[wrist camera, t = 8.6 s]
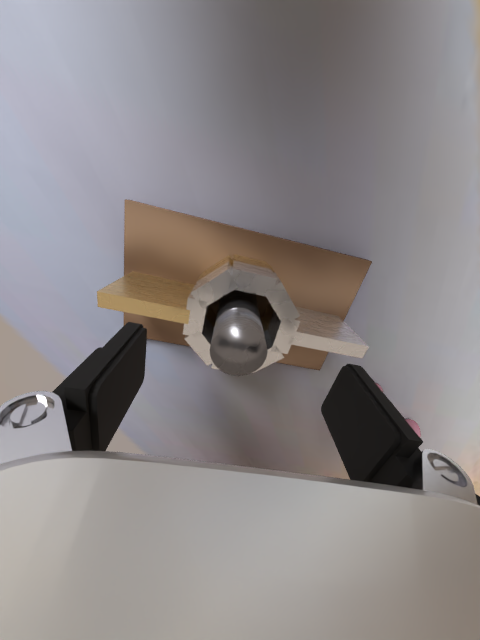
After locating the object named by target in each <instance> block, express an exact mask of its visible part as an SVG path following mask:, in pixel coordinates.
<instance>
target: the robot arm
mask: <svg viewBox="0 0 480 640" xmlns="http://www.w3.org/2000/svg"><path fill="white" fill-rule="evenodd" d="M146 340H147V329H146V328H143V325H142V324H138V323H133V322H128V323H126V324H125V325H124V326H123V327H122V328H121V329H120V330H119V332H118V333H117V334H116V335H115V336H114V337H113V338H112V339H111V340H110V341H109V342H108V343H107V344H106V345H105V346H104V347H103V348H97V349H96V350H95V351H94V352H93V353H92V354H91V355H90V356H89V357H88V358H87V359H86V360H85V361H84V362H83V363H82V364H81V365H79V366H78V367H77V368H76V369H75V370H74V371H73V372H72V373H71V374H70V375H69V376H68V377H67V378H66V379H65V380H64V381H63V382H62V383H61V384H60V385H59V386H58V387H57V388H56V389H55V390H54V391H53V392H47V391H37V392H31V393H26V394H23V395H20V396H17V397H15V398H13V399H11V400H9V401H7V402H5V403H4V404H3V405H1V406H0V640H480V497H479V496H478V495H476V494H475V491H474V487H473V484H472V482H471V479H470V478H469V477H468V475H467V474H466V472H465V471H464V470H463V469H462V468H461V467H460V466H459V465H458V464H456V463H455V462H454V461H453V460H452V459H450V458H449V457H447V456H446V455H444V454H442V453H440V452H438V451H436V450H433V449H425V450H423V451H422V452H421V451H420V450H419V448H418V447H419V446H420V445H421V444H422V443H423V441H422V440H421V438H420V437H419V436H418V435H417V433H416V432H415V431H414V430H413V429H412V427H411V426H410V425H409V424H408V423H407V421H406V420H405V419H404V418H403V416H402V415H401V414H400V413H399V412H398V410H397V409H396V408H395V407H394V405H393V404H392V403H391V402H390V401H389V399H388V398H387V397H386V396H385V394H384V393H383V392H382V391H381V390H380V388H379V387H378V386H377V385H376V384H375V382H374V381H373V380H372V379H371V377H370V376H369V375H368V374H367V373H366V371H365V370H364V369H363V368H362V367H361V366H358V365H353V364H347V365H346V366H343V367H342V369H341V371H340V372H339V374H338V376H337V378H336V380H335V382H334V384H333V385H332V387H331V389H330V391H329V393H328V395H327V397H326V399H325V400H324V402H323V404H322V407H321V412H322V415H323V417H324V419H325V421H326V424H327V426H328V428H329V431H330V433H331V435H332V438H333V440H334V442H335V445H336V447H337V449H338V452H339V454H340V456H341V459H342V461H343V463H344V466H345V468H346V470H347V473H348V475H349V477H350V479H351V480H348V479H340V478H333V477H325V476H317V475H309V474H302V473H294V472H286V471H278V470H270V469H262V468H254V467H246V466H238V465H229V464H221V463H212V462H204V461H196V460H187V459H179V458H171V457H161V456H152V455H142V454H132V453H122V452H108V451H106V449H107V447H108V445H109V443H110V441H111V440H112V438H113V436H114V434H115V432H116V430H117V429H118V427H119V425H120V423H121V421H122V420H123V418H124V416H125V414H126V412H127V410H128V409H129V407H130V405H131V403H132V401H133V399H134V398H135V396H136V394H137V392H138V390H139V389H140V387H141V385H142V383H143V380H144V373H145V357H146Z"/></svg>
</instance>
